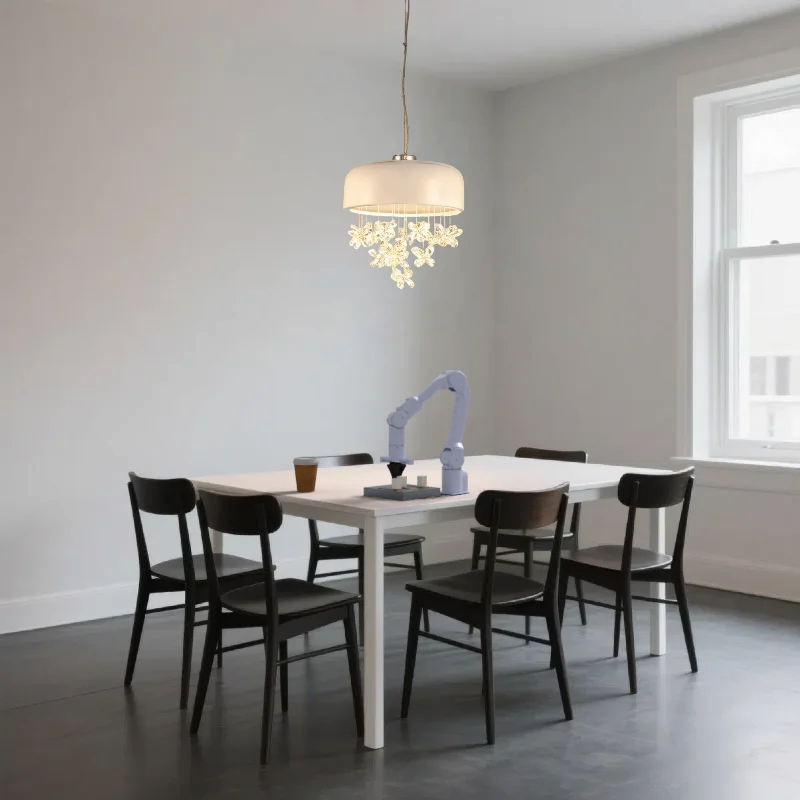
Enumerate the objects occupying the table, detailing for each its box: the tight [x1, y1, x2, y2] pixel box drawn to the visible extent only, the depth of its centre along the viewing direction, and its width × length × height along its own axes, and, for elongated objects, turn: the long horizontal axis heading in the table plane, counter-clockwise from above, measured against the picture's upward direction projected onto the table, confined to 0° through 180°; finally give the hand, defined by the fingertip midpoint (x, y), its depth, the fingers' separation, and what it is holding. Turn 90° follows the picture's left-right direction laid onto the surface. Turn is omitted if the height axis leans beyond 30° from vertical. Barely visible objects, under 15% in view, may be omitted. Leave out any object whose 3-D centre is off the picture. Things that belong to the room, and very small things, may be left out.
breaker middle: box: [397, 475, 408, 487], centre depth 364 cm, size 2×2×4 cm
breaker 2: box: [416, 474, 428, 486], centre depth 367 cm, size 2×2×4 cm
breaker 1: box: [391, 477, 402, 489], centre depth 357 cm, size 2×2×4 cm
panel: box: [363, 483, 441, 502], centre depth 364 cm, size 19×19×3 cm
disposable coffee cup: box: [292, 456, 320, 493], centre depth 375 cm, size 10×10×12 cm
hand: (396, 483), depth 366 cm, fingers closed
